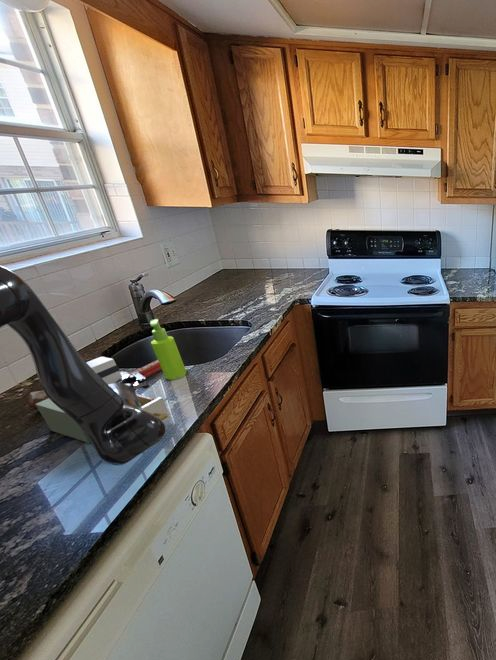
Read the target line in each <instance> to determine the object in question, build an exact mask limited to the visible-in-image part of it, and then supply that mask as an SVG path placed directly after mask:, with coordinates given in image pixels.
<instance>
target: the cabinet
mask: <svg viewBox="0 0 496 660" xmlns="http://www.w3.org/2000/svg"><path fill="white" fill-rule="evenodd" d="M135 394H137V392H136V391H135ZM35 405H36V407H37V408H38V410H37V411H39V413H40V415H41V416H42V418H43V419H44V421H45V423H46V425H47V426H48V427H49V429H50V431H52V432H54V433H57V434H60V435H63V436H66V437H69V438H72V439H74V440H79V441H82V442H84V443H91V441H90V439H89V438H88V436H87V435H86V433H85V432H84V430H83V429H82V428H81V427H80V426H79V425H78V424H77V423H76V422H75V421H74V420H73V419H72V418H71V417H70V416H68V415H67V414H66V413H65V412H64V411H62V410H61V409H60V408H59V407H58V406H56V405H55V404H54V403H53V402H52V401H51V400H50V399H49V398H48V399H46V400H44V401H41V402H39V403H37V404H35Z"/></svg>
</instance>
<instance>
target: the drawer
mask: <svg viewBox="0 0 496 660" xmlns="http://www.w3.org/2000/svg"><path fill="white" fill-rule="evenodd" d="M136 395H137V397H138V399H139V401H140V403H141V407H142V409H143V410H144V411H147V412H149V413H151V414H153V415H155V416H157V417H158V418H159V419H160V420H161V421H162V422H163V423H164V424H165V423H167V422H168V421H170V420H171V419H172V416H171V414H170V411H169V409H168V407H167V404H166V403H165V400H164V398H163V397H162V396H158V397H156V398H154V397H151V396H147V395H142V394H139V393H136Z"/></svg>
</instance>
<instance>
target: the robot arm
mask: <svg viewBox="0 0 496 660" xmlns="http://www.w3.org/2000/svg"><path fill="white" fill-rule="evenodd" d="M6 325H7V326H8V327H9V328H10V329H12V331H14V332H15V333H16V334H17V336H18V337H19V338H20V339H21V341H23V343H24V344H25V345H26V348H27V350H28V352H29V353H30V357H31V358H32V362H33V364H34V367H35V371H36V375H37V379H38V381H39V384H40V387H41V389H42V390H44V392H45V394H46V395H47V396H48V397H49V399H50V400H51V401H52V402H53V403H54V404H55V405H56V406H58V407H59V408H60V409H61V410H62V411H64V412H65V413H66V414H67V415H68V416H70V417H71V418H72V419H73V420H74V421H75V422H76V423H77V424H78V425H79V426H80V427H81V428H82V429H83V430H84V432H85V433H86V435H87V436H88V438H89V439H90V441H91V442H90V443H91V444H92V447H93V449H94V450H95V453H96V455H97V456H98V457H99V459H100V460H101V461H102V462H103V463H104V464H107V465H110V466H115V467H116V466H117V467H118V466H123V465H126V464H128V463H129V462H131V461H132V460H134V459H135V458H137V457H138V456H140V455H141V454H143V453H145V452H146V451H148V450H149V449H150V448H152V447H153V446H156V445H157V444H158V443H159V442H161V441H162V439H164V437H165V434H166V425H165V423H163V422H162V421H161V420H160V419H159V418H158V417H157V416H155V415H153V414H151V413H149V412H147V411H144V410H143V409H142V407H141V403H140V401H139V399H138V397H137V395H136V394H137V393H136V394H135V392H136V391H137V389H143V390H146V389H148V388H150V385H149V382H148V380H147V378H145V377H144V376H142V375H141V374H139V373H133V374H132V375H131V376H130V375H129V373H128V371H123V370H121V371H119V372H120V374H121V376H122V378H119V379H118V380H117V381H116V382H115V383H112V384H107V383H106V382H105V381H104V380H103V379H102V378H101V377H100V376H99V375H98V374H97V373H96V372H95V371H94V370H93V369H92V368H91V367H90V366H89V365H88V364H87V363H86V362H87V361H86V360H85V359H84V358H83V357H82V355H81V354H80V353H79V351H78V350H77V349H76V348H75V346H74V345H73V343H72V342H71V340H70V339H69V338H68V336H67V335H66V333H65V332H64V330H63V329H62V328H61V326H60V325H59V324H58V322H57V321H56V320H55V318H54V317H53V316H52V314H51V312H50V311H49V309H48V308H47V307H46V306H45V304H44V303H43V301H42V300H41V299H40V297H39V296H38V295H37V294H36V292H35V291H34V290H33V288H32V287H31V286H30V285H29V284H28V283H27V282H26V281H25V280H24V279H23V278H22V277H20V276H19V275H18V274H17V273H15V272H14V271H12V270H11V269H8V268H7V267H4V266H2V265H0V329H1V328H3V327H4V326H6ZM133 382H135V384H132V383H133Z"/></svg>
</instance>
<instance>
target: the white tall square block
mask: <svg viewBox="0 0 496 660" xmlns="http://www.w3.org/2000/svg"><path fill="white" fill-rule="evenodd" d="M85 362H86V363H87V364H88V365H89V366H90V367H91V368H92V369H93V370H94V371H95V372H96V373H97V374H98V375H99V376H100V377H101V378H102V379H103V380H104V381H105V382H106V383H107V384H112V383H115V382H116V381H117V380H118V379H119V378H122V376H121V374H120V372H121V371H120V368H119V366H118V364H116V361H115V359H114V358H112V357H107V356H98V357H96V358H94V359H91V360H89V361H85Z"/></svg>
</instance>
